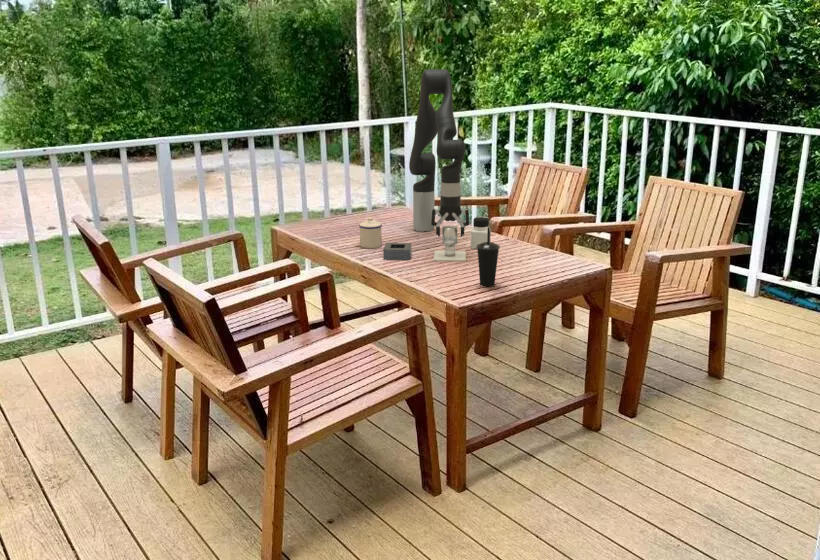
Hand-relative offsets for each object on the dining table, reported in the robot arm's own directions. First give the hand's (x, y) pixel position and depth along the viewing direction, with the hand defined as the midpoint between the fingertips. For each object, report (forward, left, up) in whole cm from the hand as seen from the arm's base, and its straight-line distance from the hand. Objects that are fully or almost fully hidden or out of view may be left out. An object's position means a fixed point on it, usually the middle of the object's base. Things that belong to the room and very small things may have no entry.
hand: (450, 236), depth 280 cm
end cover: (0, 0, -7) cm, 7 cm away
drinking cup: (+34, +13, -8) cm, 37 cm away
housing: (0, -20, -8) cm, 22 cm away
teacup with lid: (-16, -33, -8) cm, 38 cm away
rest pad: (0, 0, -8) cm, 8 cm away
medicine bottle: (-15, +12, -8) cm, 21 cm away
